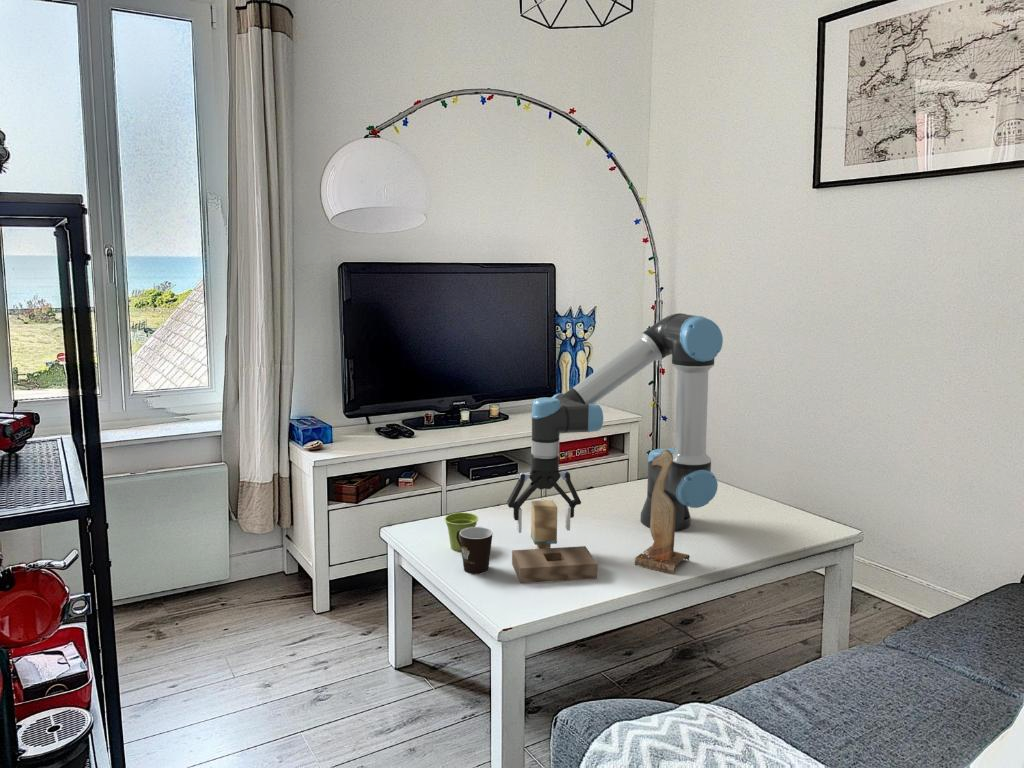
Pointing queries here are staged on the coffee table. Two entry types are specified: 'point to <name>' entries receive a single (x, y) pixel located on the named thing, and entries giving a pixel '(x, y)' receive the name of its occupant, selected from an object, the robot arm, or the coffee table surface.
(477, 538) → the coffee mug
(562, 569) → the walnut board
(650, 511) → the robot arm
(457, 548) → the plant pot
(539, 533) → the oak peg
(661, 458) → the bird sculpture
